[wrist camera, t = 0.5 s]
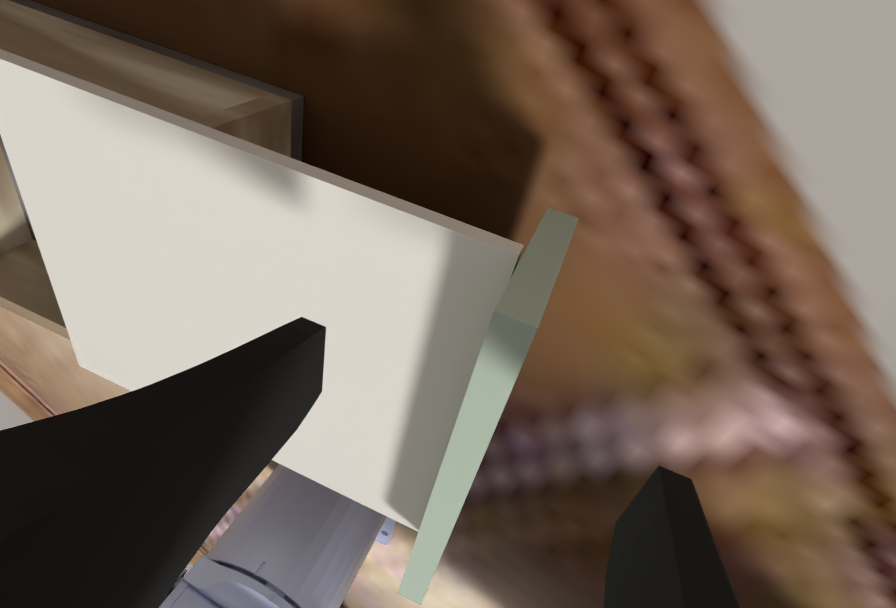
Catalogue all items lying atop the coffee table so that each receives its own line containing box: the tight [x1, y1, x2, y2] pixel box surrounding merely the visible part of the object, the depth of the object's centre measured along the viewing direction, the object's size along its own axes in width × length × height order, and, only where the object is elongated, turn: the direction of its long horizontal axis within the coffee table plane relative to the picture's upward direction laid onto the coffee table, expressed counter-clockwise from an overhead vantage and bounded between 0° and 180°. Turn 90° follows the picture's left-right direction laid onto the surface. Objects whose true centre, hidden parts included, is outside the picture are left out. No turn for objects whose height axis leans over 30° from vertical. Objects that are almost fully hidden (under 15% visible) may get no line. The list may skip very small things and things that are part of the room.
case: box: [0, 0, 304, 340], centre depth 23 cm, size 14×18×5 cm
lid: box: [0, 49, 579, 605], centre depth 19 cm, size 14×20×6 cm
